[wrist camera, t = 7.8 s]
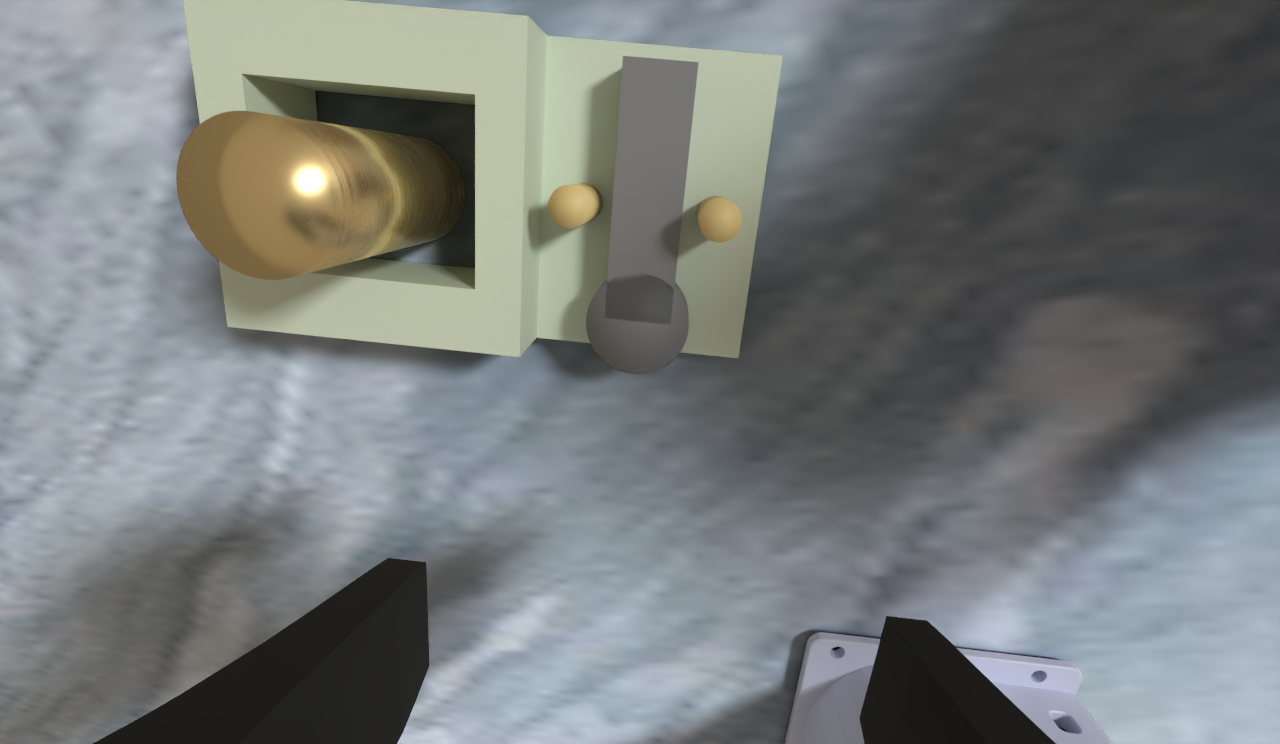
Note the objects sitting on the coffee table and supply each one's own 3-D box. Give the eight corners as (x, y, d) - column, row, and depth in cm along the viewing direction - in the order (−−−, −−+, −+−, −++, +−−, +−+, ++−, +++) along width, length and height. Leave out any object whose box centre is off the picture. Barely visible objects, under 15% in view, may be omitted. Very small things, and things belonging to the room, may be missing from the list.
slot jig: (776, 63, 16) (801, 34, 13) (733, 361, 19) (744, 400, 15) (267, 19, 16) (166, -19, 13) (296, 316, 19) (218, 344, 16)
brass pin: (462, 138, 17) (324, 113, 10) (467, 244, 18) (344, 283, 11) (359, 134, 17) (160, 107, 11) (371, 240, 18) (194, 276, 12)
